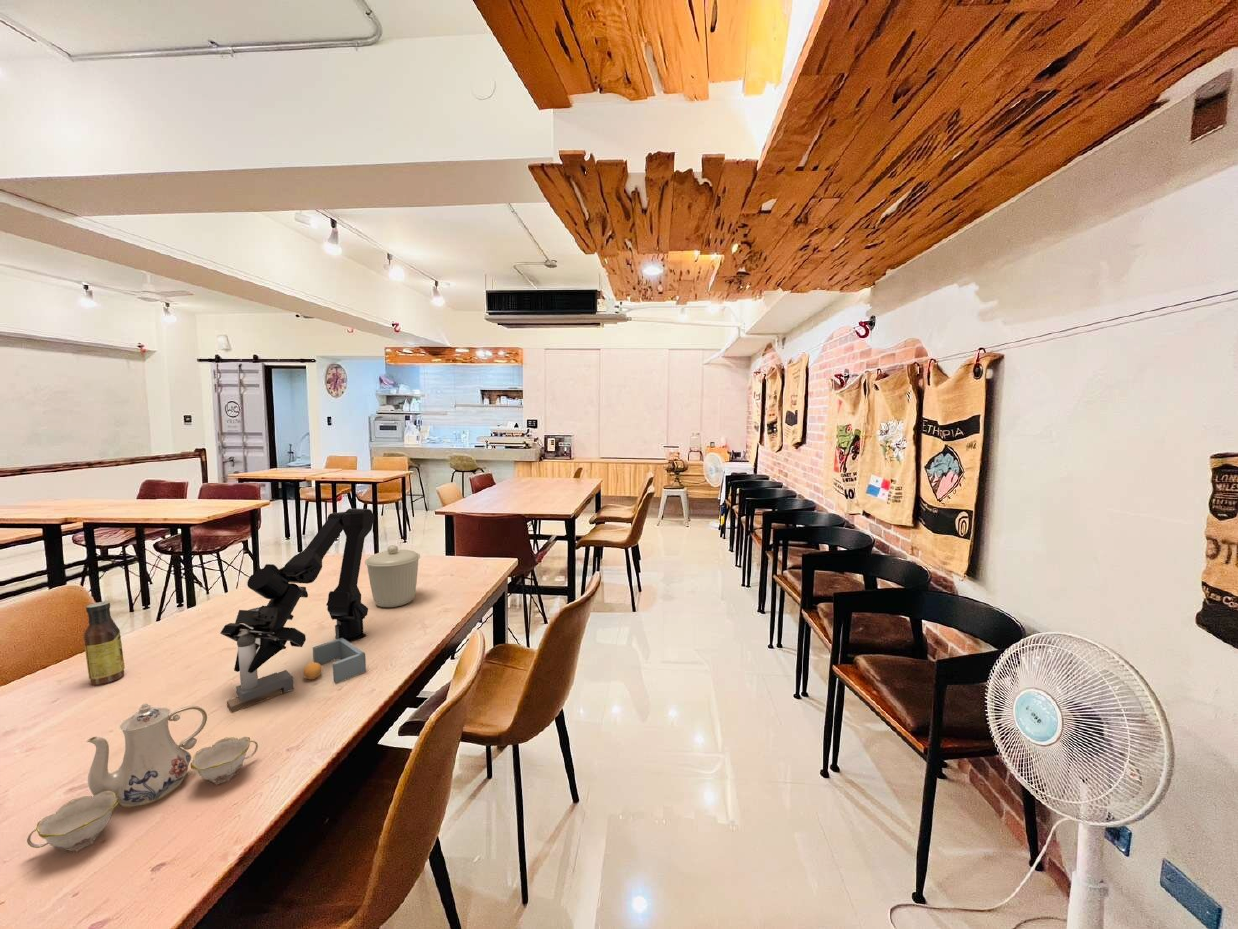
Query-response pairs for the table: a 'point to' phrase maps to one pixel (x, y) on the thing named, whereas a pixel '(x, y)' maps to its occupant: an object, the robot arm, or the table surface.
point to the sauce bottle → (103, 645)
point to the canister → (393, 576)
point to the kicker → (250, 681)
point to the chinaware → (139, 775)
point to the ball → (312, 670)
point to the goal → (350, 655)
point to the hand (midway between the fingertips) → (242, 671)
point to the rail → (250, 701)
